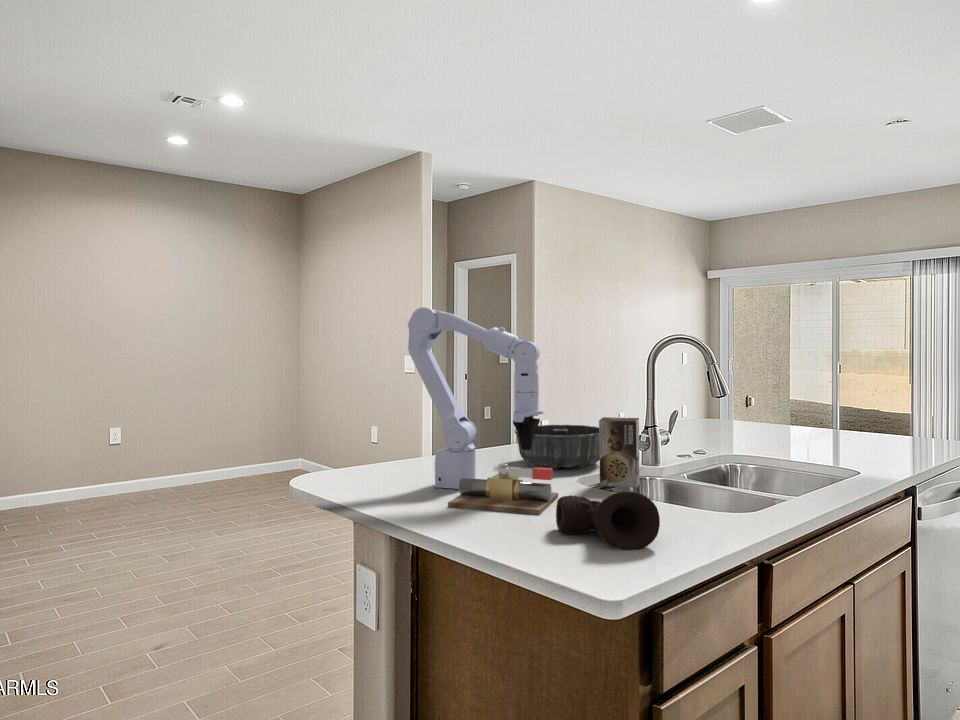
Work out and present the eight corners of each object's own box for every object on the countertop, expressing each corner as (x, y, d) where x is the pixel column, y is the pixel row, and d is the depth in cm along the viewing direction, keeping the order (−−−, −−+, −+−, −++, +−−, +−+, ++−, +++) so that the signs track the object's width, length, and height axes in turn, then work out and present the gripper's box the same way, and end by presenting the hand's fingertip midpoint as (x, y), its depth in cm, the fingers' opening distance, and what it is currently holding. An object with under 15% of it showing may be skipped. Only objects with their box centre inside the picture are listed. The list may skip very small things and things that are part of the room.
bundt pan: (507, 457, 205) (507, 424, 205) (592, 454, 208) (592, 422, 208) (523, 474, 179) (523, 436, 178) (620, 471, 182) (620, 434, 182)
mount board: (448, 506, 144) (448, 502, 143) (474, 491, 159) (474, 486, 159) (539, 514, 137) (539, 509, 137) (558, 497, 152) (558, 492, 152)
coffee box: (640, 483, 166) (640, 417, 166) (637, 488, 160) (637, 420, 160) (602, 480, 169) (602, 416, 169) (598, 486, 163) (598, 419, 163)
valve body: (457, 498, 149) (457, 476, 149) (465, 493, 153) (465, 471, 153) (546, 505, 142) (546, 482, 142) (552, 500, 147) (552, 477, 146)
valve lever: (496, 477, 147) (496, 465, 147) (500, 474, 149) (500, 463, 149) (550, 480, 143) (550, 468, 143) (553, 478, 145) (553, 466, 145)
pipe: (554, 486, 128) (574, 489, 114) (631, 489, 130) (660, 492, 115) (553, 539, 127) (573, 549, 112) (631, 541, 128) (660, 551, 114)
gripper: (534, 394, 152) (534, 455, 152) (550, 390, 165) (550, 445, 166) (504, 393, 154) (504, 453, 154) (522, 389, 168) (522, 444, 168)
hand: (526, 449), depth 160 cm, fingers closed
